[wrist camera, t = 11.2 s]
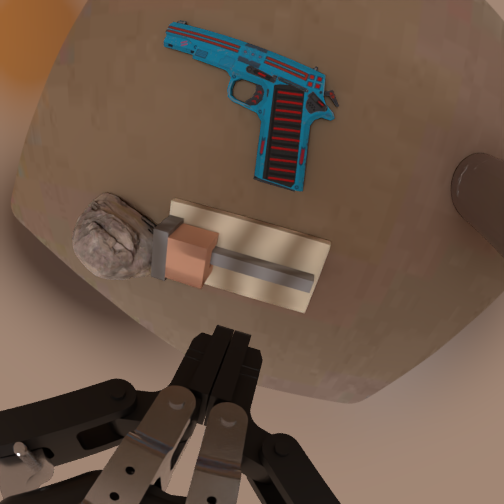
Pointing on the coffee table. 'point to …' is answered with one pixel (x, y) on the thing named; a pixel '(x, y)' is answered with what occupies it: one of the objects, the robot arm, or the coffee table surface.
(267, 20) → the coffee table surface
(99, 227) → the rock
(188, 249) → the slider block
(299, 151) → the handgun
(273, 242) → the rail board
